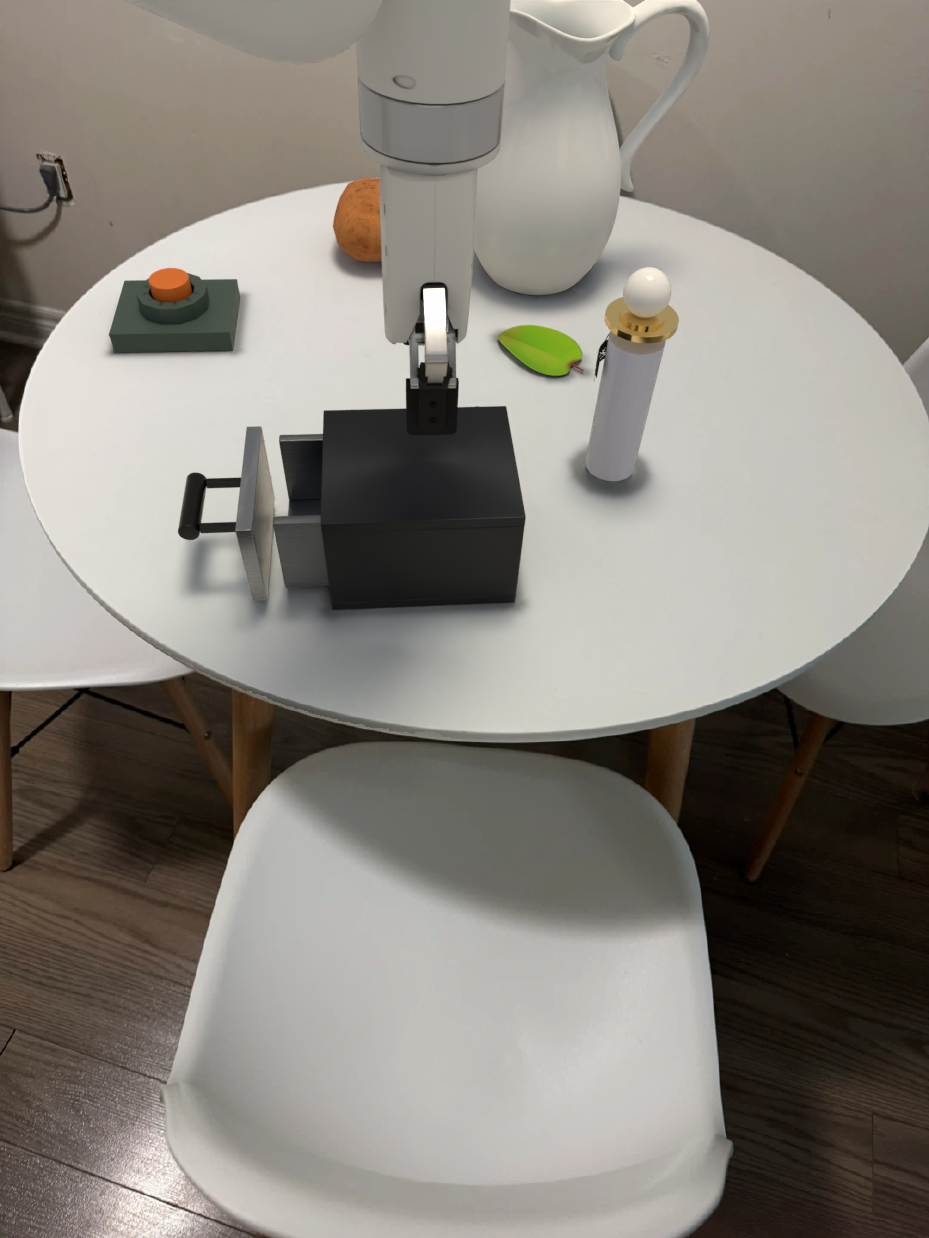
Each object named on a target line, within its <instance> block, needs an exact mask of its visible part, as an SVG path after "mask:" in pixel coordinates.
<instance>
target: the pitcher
mask: <svg viewBox="0 0 929 1238" xmlns="http://www.w3.org/2000/svg"><path fill="white" fill-rule="evenodd" d="M666 15H680V16H683V17H684V18H685V19H686V20H687V22H688V24H689V38H688V44H687V47H686V51H685V53H684V56H683V59H682V61H681V63H680V65H679V67H678V69H677V71H676V73H675V74H674V76H673V77H672V79H671V81H670V82H669V83H668V85H667V86H666V87H665V89H664V90H663V91H662V93H661V94H660V96H659V97H658V98H657V100H656V101H655V102H654V103H653V104H652V106H651V107H650V108H649V110H648V111H647V112H646V113H645V115H644V116H643V117H642V118H641V120H640V121H639V122H638V123H637V125H635V127H634V129H633V130H632V131H631V132H630V133H629V134H628V136H627V137H626V138H625V140H624V141H623V143H622V144H621V146H620V143H619V137H618V136H619V135H618V131H617V125H616V121H615V117H614V113H613V108H612V103H611V99H610V94H609V89H608V83H607V82H608V81H607V64H608V58H609V57H610V58H611V59H612V60H614V61H617V62H620V61H621V60H622V58H623V56H624V52H625V48H626V46H627V44H628V42H629V41H630V39H631V38H632V37H633V36H634V35H635V34H636V33H637V32H638V31H639V30H640V29H642V28H643V27H644V26H646V25H647V24H649V23H650V22H652V21H654V20H656V19H658V18H660V17H663V16H666ZM709 45H710V24H709V20H708V16H707V12H706V11H705V9H704V8H703V6H702V5H701V4H700V2H699V1H698V0H643V1H641V2H639V3H638V4H637V5H635V6H632V5H631V4H629V3H627V2H626V1H624V0H511V3H510V16H509V30H508V43H507V57H506V70H505V90H504V104H503V118H502V132H501V143H500V151H499V153H498V154H497V156H496V158H495V159H494V160H492V161H491V162H490V163H488V164H486V165H484V166H482V167H480V168H478V176H477V200H476V221H475V238H474V253H475V255H476V257H477V259H478V260H479V263H480V265H481V266H482V268H483V269H484V271H485V272H486V274H487V275H488V276H489V278H491V280H492V281H493V282H494V283H496V284H497V285H498V286H500V287H501V288H504V289H506V290H508V291H510V292H515V293H518V294H522V295H528V296H546V295H554V294H557V293H558V294H559V293H561V292H563V291H566V290H568V289H570V288H572V287H574V286H575V285H576V284H578V283H579V282H580V281H581V280H582V279H583V277H585V276H586V274H588V272H589V271H590V270H592V267H594V265H595V263H596V262H597V261H598V260H599V258H600V257H601V255H602V254H603V252H604V250H605V248H606V247H607V245H608V242H609V239H610V238H611V236H612V232H613V229H614V226H615V222H616V219H617V214H618V211H619V204H620V198H621V190H622V191H625V192H629V193H631V192H634V191H635V186H634V183H633V181H632V177H631V170H632V169H631V167H632V163H633V161H634V158H635V156H636V155H637V153H638V151H639V150H640V148H641V147H642V146H643V145H644V143H645V142H646V140H647V139H648V138H649V137H650V136H651V134H652V133H653V132H654V130H655V129H656V128H657V126H658V125H659V124H660V123H661V122H662V121H663V119H664V118H665V117H667V114H668V113H669V112H670V111H671V110H672V109H673V107H674V106H675V105H676V104H677V102H679V100H680V98H681V97H683V95H684V93H686V91H687V89H688V88H689V87H690V86H691V84H692V83H693V81H694V80H695V78H696V77H697V76H698V74H699V72H700V70H701V68H702V65H703V63H704V61H705V58H706V55H707V52H708V48H709Z"/></svg>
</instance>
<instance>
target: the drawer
mask: <svg viewBox="0 0 929 1238" xmlns="http://www.w3.org/2000/svg"><path fill="white" fill-rule="evenodd" d="M245 429H246V430H245V438H244V445H243V446H244V448H243V455H242V456H243V457H242V466H241V476H240V477H212V478H211V477H209V478H208V477H206V476H205V475H204V474H203V473H201V472H197V471H196V472H195V471H194V472H190V473H189V474H188V475H187V476H186V478H185V479H186V480H185V485H184V491H183V496H182V497H183V498H182V504H181V509H180V516H179V521H178V528H177V534H178V536H179V537H180V538H182V539H183V540H186V541H194V540H197V539H199V537H200V534H221V533H222V534H224V533H225V534H226V533H235V537H236V540H237V544H238V548H239V551H240V556H241V560H242V564H243V569H244V572H245V576H246V581H247V584H248V588H249V593H250V597H251V600H252V601H264V600H265V601H266V600H268V596H269V595H268V594H269V584H270V583H269V582H270V568H271V555H272V542H273V532H274V538H275V543H276V548H277V552H278V553H277V554H278V557H279V563H280V568H281V573H282V578H283V584H284V588H285V589H296V588H297V589H298V588H299V589H302V588H324V587H327V588H328V587H329V584H328V576H327V569H326V561H325V554H324V546H323V539H322V532H321V487H322V450H323V433H306V434H305V433H304V434H303V433H302V434H301V433H299V434H279V435H278V436H279V437H278V444H279V450H280V455H281V462H282V467H283V468H282V469H283V473H284V480H285V486H286V491H287V497H288V509H287V515H279V516H278V515H277V516H274V515H275V514H274V513H275V501H276V497H275V491H274V486H273V481H272V475H271V469H270V464H269V459H268V454H267V448H266V443H265V437H264V433H263V427H262V426H261V425H259V426H258V425H257V426H246V428H245ZM233 488H239V492H238V493H239V494H238V502H237V510H236V511H237V512H236V521H221V522H220V521H219V522H202V520H203V514H204V507H205V500H206V493H207V489H233Z"/></svg>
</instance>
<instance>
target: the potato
mask: <svg viewBox="0 0 929 1238" xmlns="http://www.w3.org/2000/svg"><path fill="white" fill-rule="evenodd" d="M332 229H333V232H334V236H335V240H336V243H337V245H338V246H339V248H340V250H341V251H342V252H344V254H346V255H347V256H348V257H350V258H351V259H352V260H354V261H357V262H358V261H359V262H361V263H378V262H382V258H381V234H380V231H381V229H380V177H379V178H376V177H375V178H373V177H371V178H370V177H362V178H359V179H356V180H353V181H351V182H349V183H347V185H346V186H345V188H344V189H343V191H342V192H341V194H340V195H339V198H338V202H337V204H336V209H335V211H334V216H333V222H332Z"/></svg>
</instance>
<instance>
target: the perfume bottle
mask: <svg viewBox="0 0 929 1238" xmlns="http://www.w3.org/2000/svg"><path fill="white" fill-rule="evenodd" d="M671 297H672V284H671V281H670V279H669V277H668V275H667V274H666V273H665V272H664V271H662V270H661V269H659V268H658V267H653V266H645V267H641V268H639V269H637V270H635V271H633V272H632V273H631V274H630V275H629V277H628V278H627V280H626V282H625V285H624V287H623V293H622V297H618V298H616V299H614V300H613V301H611V302H610V303H609V304H608V305H607V306H606V309H605V313H604V323H605V326H606V328H607V329H608V330H609V333H608V334H607V336H606V337H605V339H604V341H603V342H602V343H601V344H600V346H599V348H598V350H597V351H598V352H597V356H596V362H595V367H594V368H595V369H594V376H595V377H594V379H593V381H596V380H595V379H597V378H598V375H599V374H598V373H599V368H600V364H601V362H602V361H603V365H602V371H601V376H600V380H599V386H598V391H597V392H598V393H597V397H596V403H595V408H594V412H593V413H594V414H593V418H592V424H591V428H590V429H591V430H590V434H589V439H588V446H587V451H586V456H585V462H584V463H585V467H586V469H587V470H588V472H589V473H590V474H591V475H593V476H594V477H596V478H597V479H600V480H603V481H607V482H619V481H623V480H626V479H628V478H630V476H632V475H633V473H634V471H635V469H636V463H637V459H638V456H639V451H640V449H641V444H642V440H643V435H644V431H645V427H646V424H647V420H648V415H649V411H650V407H651V402H652V399H653V395H654V391H655V387H656V382H657V379H658V375H659V370H660V367H661V363H662V359H663V355H664V351H665V347H666V341H667V340H669V339H671V338H672V337H673V336H674V335H675V334H676V332H677V330H678V326H679V322H680V319H679V315H678V313H677V311H676V310H675V309H674V308H673V307H672V306H671V305H669V303H670V301H671Z"/></svg>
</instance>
